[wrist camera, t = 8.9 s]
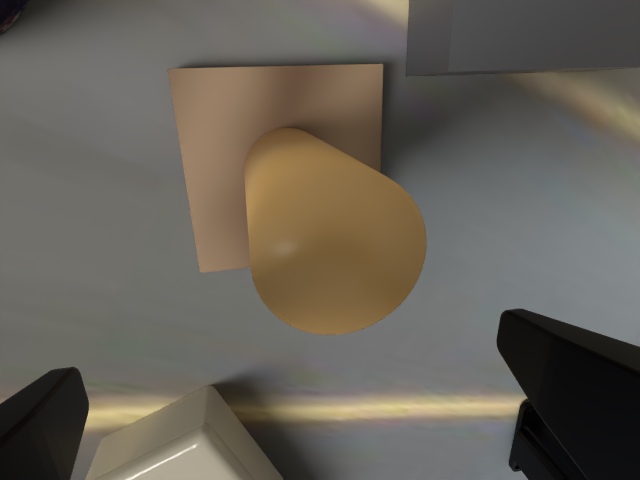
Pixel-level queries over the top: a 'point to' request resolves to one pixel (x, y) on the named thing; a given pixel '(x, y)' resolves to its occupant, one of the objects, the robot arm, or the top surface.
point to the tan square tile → (252, 123)
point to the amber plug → (328, 234)
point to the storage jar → (10, 12)
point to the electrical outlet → (183, 445)
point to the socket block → (521, 36)
